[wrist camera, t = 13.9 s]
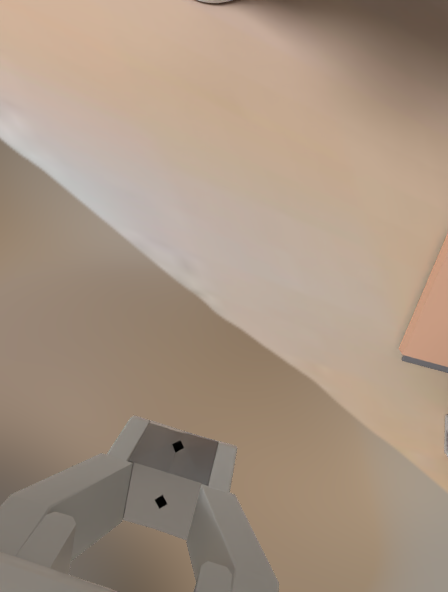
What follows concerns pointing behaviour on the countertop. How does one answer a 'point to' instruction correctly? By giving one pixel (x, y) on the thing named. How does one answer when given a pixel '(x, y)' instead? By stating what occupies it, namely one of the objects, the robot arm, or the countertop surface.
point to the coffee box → (446, 435)
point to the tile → (431, 317)
